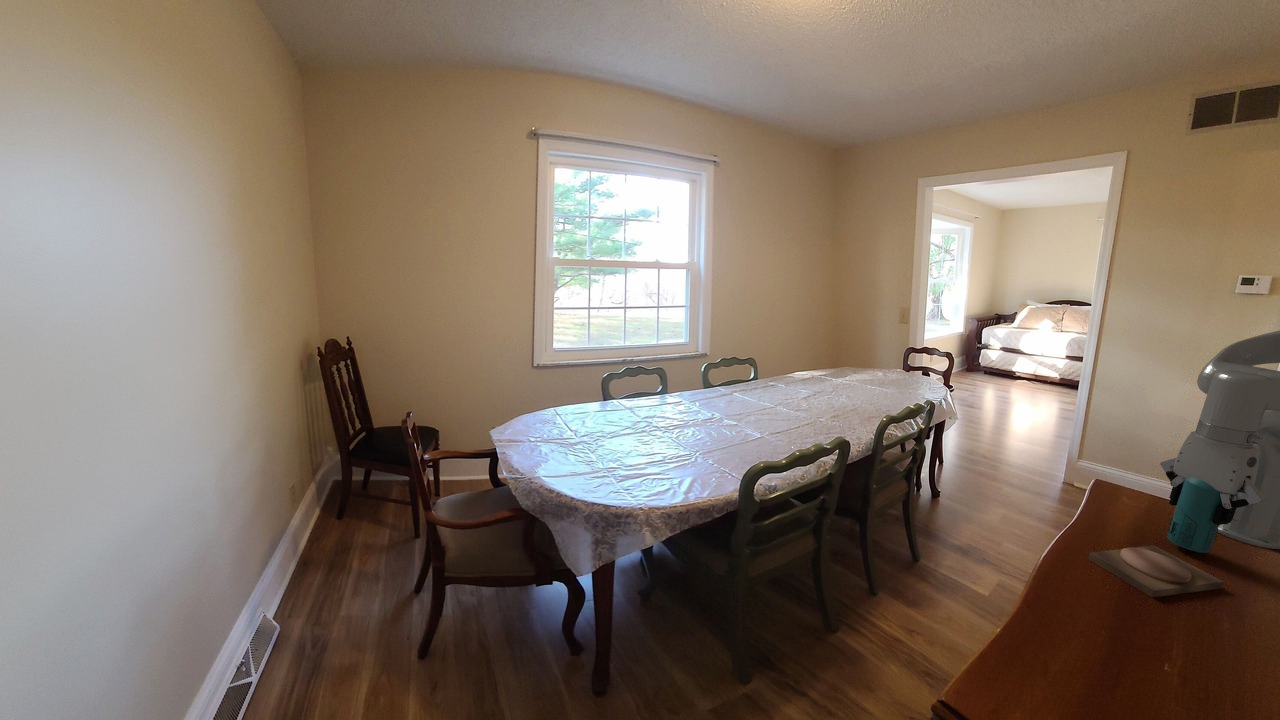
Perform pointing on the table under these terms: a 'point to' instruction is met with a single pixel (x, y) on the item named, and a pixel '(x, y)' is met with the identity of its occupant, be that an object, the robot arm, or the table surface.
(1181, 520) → the beverage bottle
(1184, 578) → the rectangular slab with oval
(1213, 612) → the table surface
